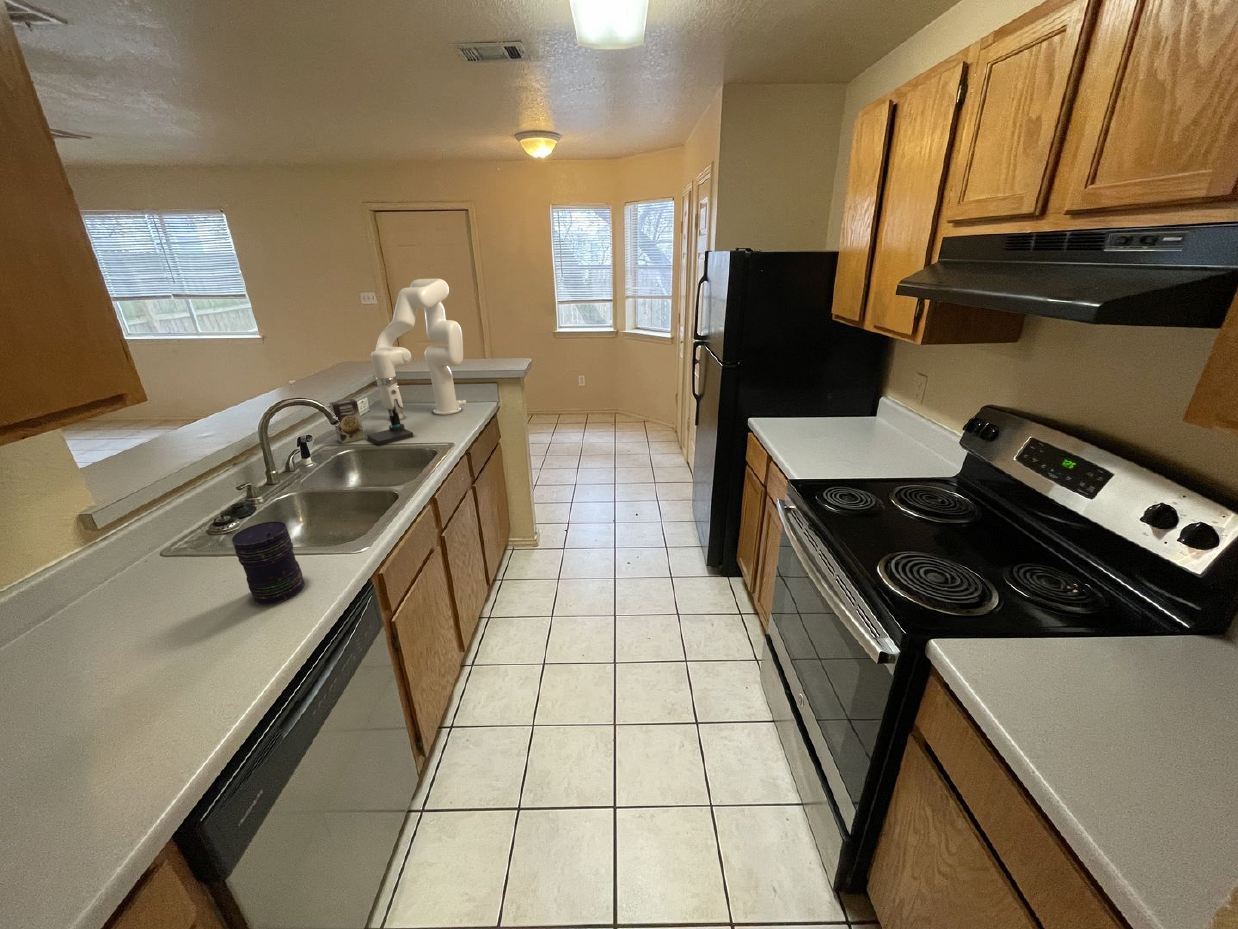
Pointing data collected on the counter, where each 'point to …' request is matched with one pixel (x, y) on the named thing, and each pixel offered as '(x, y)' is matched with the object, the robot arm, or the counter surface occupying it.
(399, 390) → the beer glass
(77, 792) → the counter surface
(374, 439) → the scale
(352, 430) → the cookie box
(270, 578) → the storage jar
